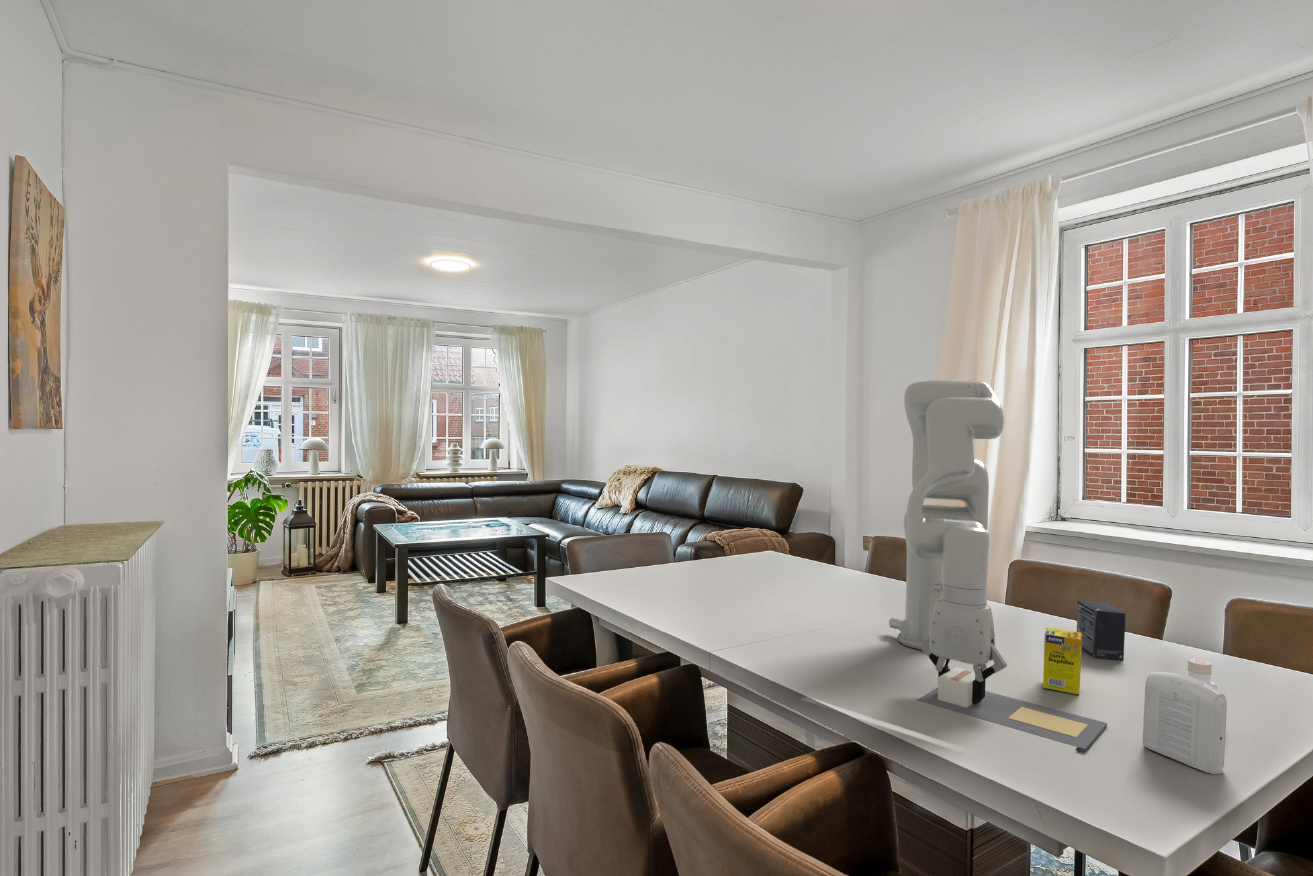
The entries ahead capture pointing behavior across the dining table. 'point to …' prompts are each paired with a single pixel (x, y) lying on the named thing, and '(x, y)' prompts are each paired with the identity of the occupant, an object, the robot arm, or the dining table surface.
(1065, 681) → the supplement box
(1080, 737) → the mat
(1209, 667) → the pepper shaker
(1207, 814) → the dining table surface
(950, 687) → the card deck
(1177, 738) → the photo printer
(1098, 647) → the small box
